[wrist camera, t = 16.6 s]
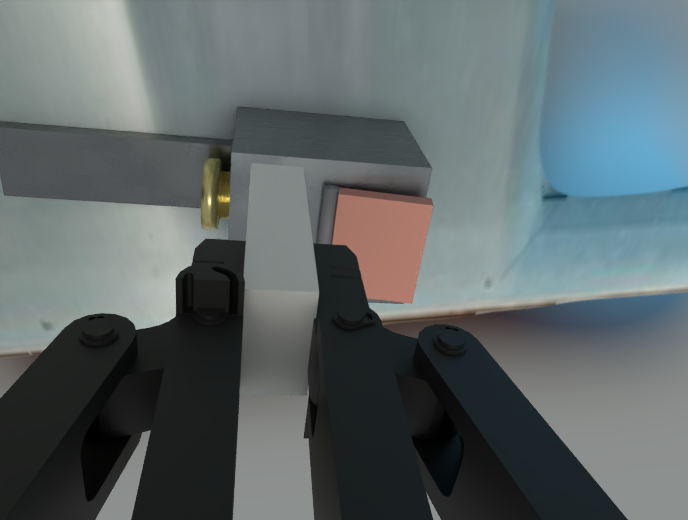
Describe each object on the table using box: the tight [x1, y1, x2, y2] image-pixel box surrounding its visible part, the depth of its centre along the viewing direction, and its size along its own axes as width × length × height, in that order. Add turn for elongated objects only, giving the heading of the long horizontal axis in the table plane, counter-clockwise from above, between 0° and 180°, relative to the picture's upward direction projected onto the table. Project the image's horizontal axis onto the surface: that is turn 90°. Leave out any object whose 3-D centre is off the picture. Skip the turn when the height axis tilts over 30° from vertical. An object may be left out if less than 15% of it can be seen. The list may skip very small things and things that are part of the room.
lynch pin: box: [201, 158, 231, 229], centre depth 43 cm, size 15×5×5 cm, turn 83°
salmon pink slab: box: [317, 184, 433, 304], centre depth 38 cm, size 1×7×6 cm
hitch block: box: [0, 107, 432, 304], centre depth 41 cm, size 28×10×9 cm, turn 83°
